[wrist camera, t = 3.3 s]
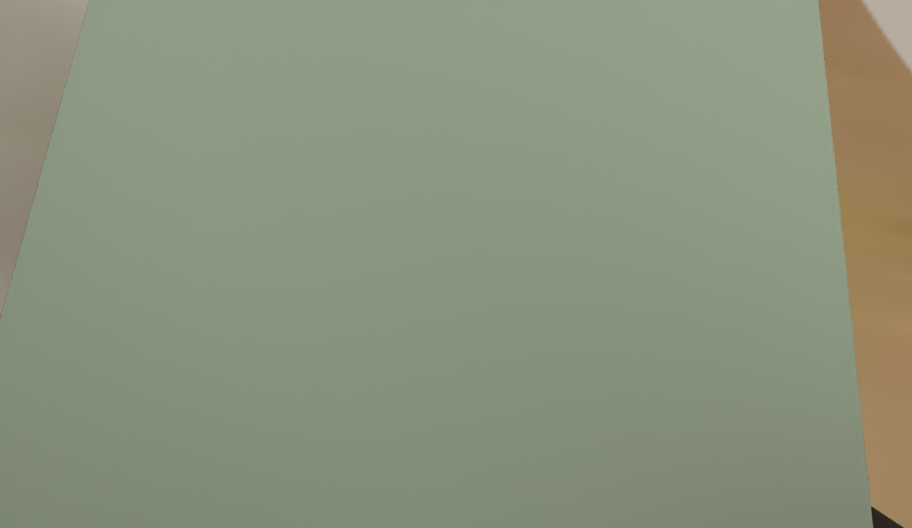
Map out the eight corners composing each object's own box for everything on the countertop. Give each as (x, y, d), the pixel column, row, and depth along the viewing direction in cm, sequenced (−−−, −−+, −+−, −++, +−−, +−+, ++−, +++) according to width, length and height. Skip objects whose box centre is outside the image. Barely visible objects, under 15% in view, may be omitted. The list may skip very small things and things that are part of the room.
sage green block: (438, 561, 17) (881, 610, 5) (190, 542, 16) (-63, 543, 4) (455, 329, 18) (809, -73, 6) (232, 301, 17) (154, -234, 5)
